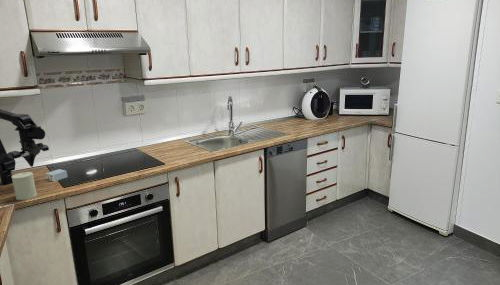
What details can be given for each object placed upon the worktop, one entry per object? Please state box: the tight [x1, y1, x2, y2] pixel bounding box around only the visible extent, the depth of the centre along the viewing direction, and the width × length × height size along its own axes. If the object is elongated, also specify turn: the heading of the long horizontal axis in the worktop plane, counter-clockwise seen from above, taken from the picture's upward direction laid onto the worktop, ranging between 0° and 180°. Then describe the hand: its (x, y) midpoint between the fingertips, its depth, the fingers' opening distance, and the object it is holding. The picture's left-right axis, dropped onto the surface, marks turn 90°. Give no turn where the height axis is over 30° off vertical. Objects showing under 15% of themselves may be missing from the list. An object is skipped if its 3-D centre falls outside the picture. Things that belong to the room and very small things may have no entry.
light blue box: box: [45, 168, 68, 182], centre depth 207 cm, size 7×4×8 cm
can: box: [12, 171, 38, 201], centre depth 181 cm, size 9×9×12 cm
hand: (31, 166), depth 196 cm, fingers closed
